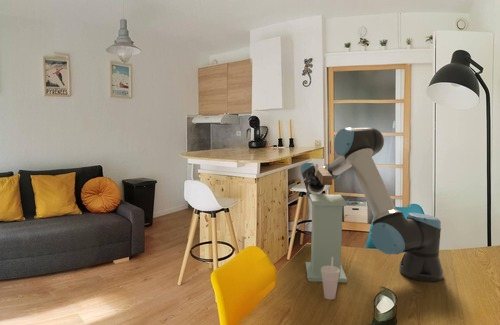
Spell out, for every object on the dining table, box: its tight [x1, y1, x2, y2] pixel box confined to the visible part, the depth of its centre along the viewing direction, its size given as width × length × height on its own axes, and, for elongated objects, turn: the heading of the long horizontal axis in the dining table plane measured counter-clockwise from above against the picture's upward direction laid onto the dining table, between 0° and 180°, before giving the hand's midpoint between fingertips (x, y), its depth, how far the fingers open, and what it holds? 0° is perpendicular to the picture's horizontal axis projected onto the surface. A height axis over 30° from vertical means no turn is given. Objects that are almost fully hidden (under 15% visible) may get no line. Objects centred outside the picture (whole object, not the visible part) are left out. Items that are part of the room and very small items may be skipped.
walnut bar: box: [316, 167, 333, 186], centre depth 141 cm, size 26×4×4 cm, turn 175°
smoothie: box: [321, 257, 340, 300], centre depth 115 cm, size 6×6×14 cm
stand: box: [305, 193, 348, 284], centre depth 131 cm, size 14×14×30 cm
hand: (322, 167), depth 145 cm, fingers closed on walnut bar, 3 cm apart
